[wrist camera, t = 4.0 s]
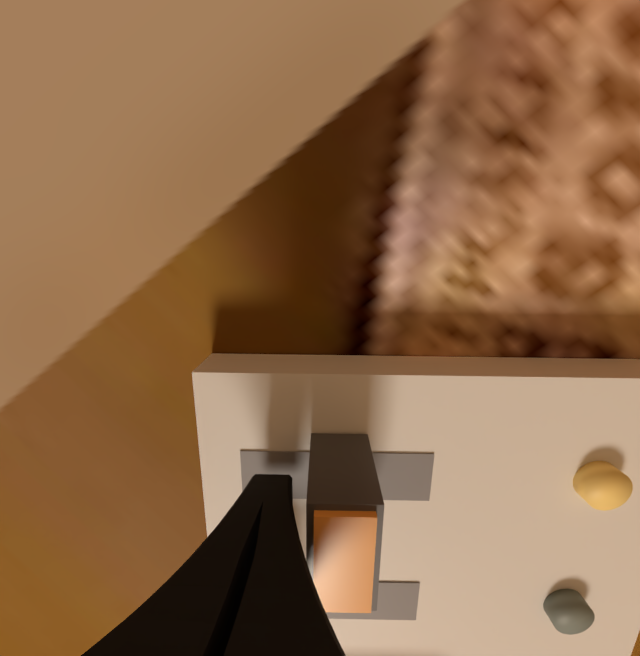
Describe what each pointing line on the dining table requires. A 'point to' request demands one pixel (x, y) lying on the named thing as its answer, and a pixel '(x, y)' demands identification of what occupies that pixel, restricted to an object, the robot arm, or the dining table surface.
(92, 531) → the dining table surface
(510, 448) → the breaker panel
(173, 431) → the dining table surface
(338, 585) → the block
